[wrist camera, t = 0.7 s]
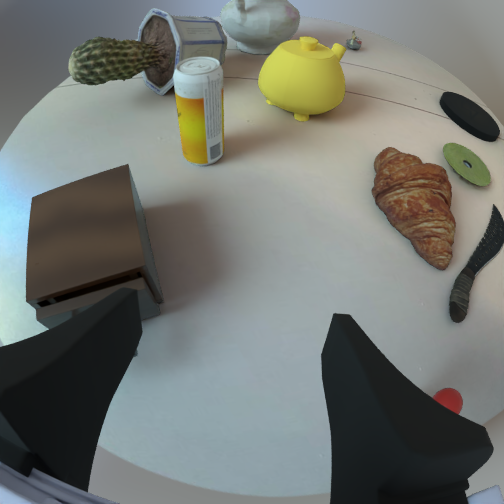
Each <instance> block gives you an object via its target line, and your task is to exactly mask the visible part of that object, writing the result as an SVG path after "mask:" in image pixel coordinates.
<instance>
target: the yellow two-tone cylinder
mask: <svg viewBox="0 0 504 504" xmlns="http://www.w3.org/2000/svg"><path fill="white" fill-rule="evenodd" d="M173 79H174V88H175V96H176V105H177V113H178V121H179V128H180V136H181V143H182V150H183V155H184V157H185V159H186V160H188V161H189V162H191V163H192V164H194V165H198V166H206V165H210V164H213V163H215V162H216V161H217V160H218V159H219V158H220V157H221V156H222V155H223V153H224V109H223V69H222V67H221V66H220V62H219V61H218V60H217V59H214V58H211V57H193V58H188V59H185V60H183V61H181V62H179V63H178V64H177V65H176V69H175V72H174V74H173Z"/></svg>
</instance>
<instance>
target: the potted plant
mask: <svg viewBox="0 0 504 504" xmlns="http://www.w3.org/2000/svg"><path fill="white" fill-rule="evenodd" d="M226 49H227V37H226V36H225V34H224V32H223V30H222V26H221V25H220V23H219V22H218V21H216V20H214V19H211V18H209V17H194V16H172V15H170V14H169V13H167V12H164V11H161V10H159V9H152V10H150V11H149V12H148V14H147V15H146V17H145V19H144V20H143V22H142V23H141V25H140V27H139V33H138V41H135V40H131V41H130V40H123V41H120V40H118V41H117V40H116V39H111V38H103V37H95V38H94V39H93V40H88V41H86V42H85V43H84V44H82V45H81V46H78V47H77V48H75V49H74V50H73V52H72V55H71V56H70V60H69V72H70V74H71V76H72V78H73V80H75V81H76V82H80V83H81V84H87V85H98V84H104V83H106V82H107V81H110V80H117V79H120V80H124V81H125V79H130V78H132V77H133V76H135V75H136V74H138V73H140V72H141V74H142V77H143V79H144V81H145V83H146V85H147V86H148V87H149V88H151V89H152V90H154V92H156V93H158V94H159V95H164V94H165V93H166V92H167V91H168V90H169V89H170V88H171V87H172V86H173V85H174V79H173V74H174V72H175V69H176V65H177V64H178V63H179V62H181V61H183V60H185V59H188V58H193V57H211V58H214V59H217V60H218V61H219V62H220V66H221V65H222V64H223V62H224V60H225V51H226Z"/></svg>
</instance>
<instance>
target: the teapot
mask: <svg viewBox="0 0 504 504" xmlns="http://www.w3.org/2000/svg"><path fill="white" fill-rule="evenodd" d="M345 51H346V48H345V47H343V46H342V45H340V44H337V43H335V44H334V46H333V47H332V49H330V48H328V47H326V46H324V45H322V44H319V43H318V40H317V39H315V38H312V37H307V36H304V37H300V40H289V41H285V42H283V43H281V44H280V45H279V46H278V47H277V48H276V49H275V50H274V51H273V52H272V53H271V54H270V56H269V57H268V58H267V59H266V61H265V63H264V64H263V66H262V69H261V71H260V74H259V80H258V85H259V88H260V90H261V92H262V93H263V94H264V96H265V97H266V98H267V100H266V102H267V103H268V104H271V105H276V106H277V107H279V108H282V109H284V110H287V111H290V112H294V118H295V119H296V120H299V121H308V120H309V114H321V113H324V112H327V111H329V110H331V109H333V108H335V107H336V106H338V105H339V104H340V103H341V102H342V101H343V99H344V95H345V79H344V74H343V71H342V68H341V66H340V63H339V62H340V60H341V58H342V56H343V55H344V53H345Z"/></svg>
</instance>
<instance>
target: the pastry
mask: <svg viewBox="0 0 504 504" xmlns="http://www.w3.org/2000/svg"><path fill="white" fill-rule="evenodd" d="M374 169H375V171H376V173H377V174H376V177H375V179H374V185H375V186H374V187H373V188H372V195H373V197H374V199H375V202H376V205H378V207H379V208H380V209H381V210H382V211H383V212H384V213H385V215H386V216H387V219H388V221H389V222H390V224H391V225H392V226H393V227H395V228H396V229H397V230H398V231H399V232H400V233H401V234H402V235H403V236H405V237H406V238H408V239H409V240H410V241H411V243H412V245H413V247H414V248H415V251H416V252H417V253H418V254H419V255H420V256H421V257H422V258H423V259H425V260H426V261H427V262H428V263H429V264H430V265H433V266H434V267H436V268H437V269H440V270H445V269H446V267H447V266H448V264H449V262H450V260H451V258H452V249H451V247H452V244H453V243H454V233H455V227H456V222H455V219H454V217H453V215H452V213H451V211H450V206H451V197H452V192H451V188H452V187H451V184H450V182H449V180H448V176H447V174H446V170H445V169H444V168H443V167H441V166H439V165H436V164H431V163H426V164H423V163H422V161H421V160H420V158H419V157H417V156H414V155H411V154H406V153H402V152H400V151H398V150H397V149H395V148H392V147H388V148H386V149H384V150H383V151H382V152H381V153H379V154H378V156H377V157H376V159H375V162H374Z"/></svg>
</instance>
